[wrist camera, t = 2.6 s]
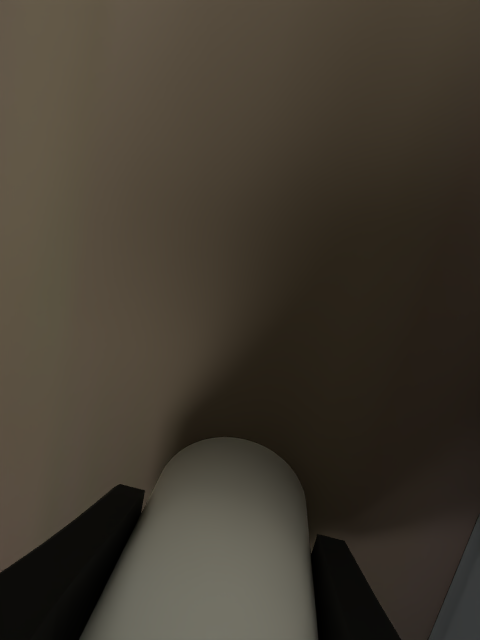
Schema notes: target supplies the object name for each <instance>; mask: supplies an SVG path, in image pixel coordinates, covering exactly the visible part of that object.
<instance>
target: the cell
mask: <svg viewBox="0 0 480 640" xmlns="http://www.w3.org/2000/svg"><path fill="white" fill-rule="evenodd" d="M79 640H318V629H317V618H316V606H315V595H314V584H313V573H312V562H311V551H310V540H309V529H308V517H307V506H306V498H305V494H304V490H303V488H302V485H301V483H300V481H299V479H298V477H297V475H296V474H295V472H294V471H293V470H292V468H291V467H290V466H289V465H288V464H287V463H286V462H285V461H284V460H283V459H282V458H281V457H280V456H278V455H277V454H276V453H275V452H273V451H271V450H270V449H268V448H266V447H265V446H262V445H260V444H258V443H255V442H252V441H249V440H246V439H240V438H234V437H216V438H210V439H205V440H201V441H198V442H195V443H193V444H191V445H189V446H187V447H185V448H184V449H182V450H181V451H179V452H178V453H177V454H176V455H175V456H174V457H172V458H171V460H170V461H169V462H168V463H167V464H166V466H165V468H164V469H163V471H162V472H161V475H160V477H159V479H158V481H157V483H156V485H155V487H154V489H153V491H152V493H151V495H150V497H149V499H148V501H147V503H146V505H145V507H144V509H143V511H142V513H141V515H140V517H139V519H138V521H137V523H136V525H135V527H134V529H133V531H132V533H131V535H130V537H129V539H128V541H127V543H126V545H125V547H124V549H123V551H122V553H121V555H120V557H119V559H118V562H117V564H116V566H115V568H114V570H113V572H112V574H111V576H110V578H109V580H108V582H107V584H106V586H105V588H104V590H103V592H102V594H101V596H100V598H99V600H98V602H97V604H96V606H95V608H94V610H93V612H92V614H91V616H90V618H89V620H88V622H87V624H86V626H85V628H84V630H83V632H82V634H81V636H80V638H79Z"/></svg>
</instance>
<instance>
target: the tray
mask: <svg viewBox="0 0 480 640" xmlns="http://www.w3.org/2000/svg"><path fill="white" fill-rule="evenodd" d="M429 640H480V515H479V517H478V519H477V522H476V524H475V527H474V529H473V532H472V534H471V537H470V539H469V542H468V544H467V546H466V549H465V551H464V554H463V556H462V559H461V561H460V564H459V566H458V568H457V571H456V573H455V576H454V578H453V581H452V583H451V586H450V588H449V591H448V593H447V595H446V598H445V600H444V603H443V605H442V608H441V610H440V613H439V615H438V618H437V620H436V622H435V625H434V627H433V630H432V632H431V635H430V637H429Z"/></svg>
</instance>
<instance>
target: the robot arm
mask: <svg viewBox="0 0 480 640" xmlns="http://www.w3.org/2000/svg"><path fill="white" fill-rule="evenodd" d="M144 493H145V490H141V489H137V488H133V487H129V486H125V485H121V484H119V485H117V486H116V487H114V488H113V489H112V490H110V491H109V492H108V493H107V494H106V495H104V496H103V497H102V498H101V499H100V500H98V501H97V502H96V503H95V504H94V505H92V506H91V507H90V508H89V509H87V510H86V511H85V512H84V513H82V514H81V515H80V516H79V517H77V518H76V519H75V520H73V521H72V522H71V523H70V524H68V525H67V526H66V527H64V528H63V529H62V530H60V531H59V532H58V533H56V534H55V535H54V536H52V537H51V538H50V539H48V540H47V541H46V542H44V543H43V544H41V545H40V546H39V547H37V548H36V549H34V550H33V551H31V552H30V553H28V554H27V555H26V556H24V557H23V558H21V559H20V560H18V561H17V562H15V563H14V564H12V565H11V566H9V567H8V568H6V569H5V570H4V571H2V572H1V573H0V640H79V638H80V636H81V634H82V632H83V630H84V628H85V626H86V624H87V622H88V620H89V618H90V616H91V614H92V612H93V610H94V608H95V606H96V604H97V602H98V600H99V598H100V596H101V594H102V592H103V590H104V588H105V586H106V584H107V582H108V580H109V578H110V576H111V574H112V572H113V570H114V568H115V566H116V564H117V562H118V559H119V557H120V555H121V553H122V551H123V549H124V547H125V545H126V543H127V541H128V539H129V537H130V535H131V533H132V531H133V529H134V527H135V525H136V523H137V521H138V519H139V517H140V515H141V510H142V504H143V498H144ZM311 562H312V573H313V584H314V595H315V606H316V618H317V629H318V640H401V639H400V637H399V635H398V634H397V632H396V630H395V629H394V627H393V625H392V624H391V622H390V620H389V619H388V617H387V615H386V614H385V612H384V610H383V609H382V607H381V605H380V604H379V602H378V600H377V598H376V597H375V595H374V593H373V591H372V589H371V588H370V586H369V584H368V582H367V581H366V579H365V577H364V575H363V573H362V572H361V570H360V568H359V566H358V564H357V563H356V561H355V559H354V557H353V555H352V553H351V552H350V550H349V548H348V546H347V545H346V543H345V541H343V540H339V539H335V538H331V537H327V536H323V535H319V534H317V537H316V541H315V544H314V547H313V551H312V554H311Z"/></svg>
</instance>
